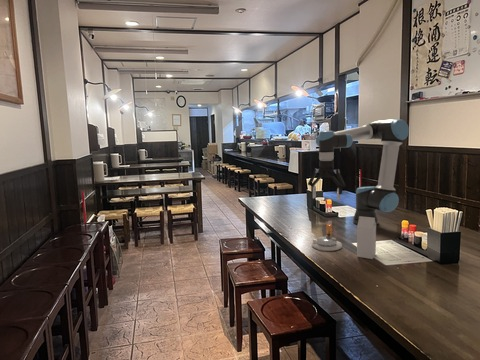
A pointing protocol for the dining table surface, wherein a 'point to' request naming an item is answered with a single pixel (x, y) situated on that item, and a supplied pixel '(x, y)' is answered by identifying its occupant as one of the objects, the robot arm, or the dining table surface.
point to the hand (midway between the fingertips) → (326, 199)
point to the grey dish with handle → (327, 238)
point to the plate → (324, 248)
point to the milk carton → (366, 237)
